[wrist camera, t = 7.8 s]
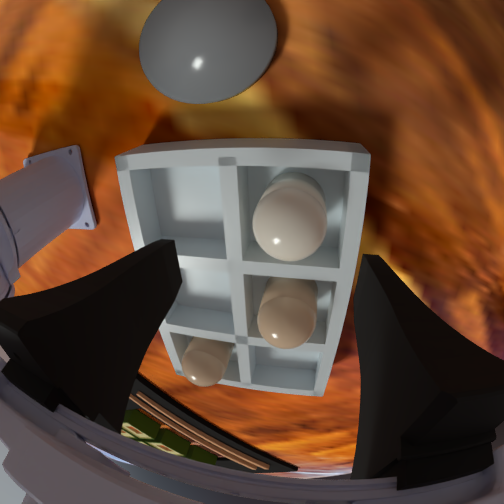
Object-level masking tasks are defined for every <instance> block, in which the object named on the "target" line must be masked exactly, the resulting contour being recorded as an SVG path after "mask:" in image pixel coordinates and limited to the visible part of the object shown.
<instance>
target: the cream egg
mask: <svg viewBox="0 0 504 504" xmlns="http://www.w3.org/2000/svg"><path fill="white" fill-rule="evenodd" d="M252 227H253V232H254V236H255V239H256V241H257V242H258V244H259V245H260V247H261V248H262V249H263V250H264V251H265V252H266V253H267V254H268V255H270V256H272V257H274V258H276V259H279V260H282V261H298V260H302V259H304V258H306V257H308V256H310V255H312V254H313V253H314V252H315V251H316V250H317V249H318V248H319V247H320V246H321V244H322V243H323V240H324V238H325V236H326V232H327V210H326V199H325V194H324V192H323V189H322V188H321V186H320V185H319V184H318V182H317V181H316V180H314V179H313V178H312V177H310V176H308V175H306V174H303V173H299V172H288V173H284V174H281V175H279V176H277V177H275V178H274V179H273V180H272V181H271V182H270V183H269V184H268V186H267V187H266V189H265V191H264V193H263V195H262V197H261V199H260V201H259V203H258V204H257V206H256V209H255V211H254V214H253V222H252Z"/></svg>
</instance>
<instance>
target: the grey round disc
mask: <svg viewBox="0 0 504 504" xmlns="http://www.w3.org/2000/svg"><path fill="white" fill-rule="evenodd" d="M277 43H278V30H277V24H276V21H275V17H274V15H273V13H272V11H271V9H270V8H269V6H268V4H267V3H266V2H265V0H162V1H161V2H160V3H159V4H158V5H157V6H156V7H155V8H154V10H153V11H152V12H151V14H150V15H149V17H148V19H147V20H146V22H145V25H144V27H143V30H142V33H141V36H140V43H139V56H140V62H141V66H142V68H143V71H144V73H145V75H146V77H147V78H148V80H149V81H150V83H151V84H152V85H153V86H154V87H155V88H156V89H157V90H158V91H160V92H161V93H162V94H164V95H166V96H167V97H169V98H171V99H174V100H177V101H180V102H185V103H192V104H205V103H213V102H219V101H223V100H227V99H229V98H232V97H234V96H237V95H239V94H240V93H242V92H244V91H246V90H247V89H248V88H250V87H251V86H252V85H254V84H255V83H256V82H257V81H258V80H259V79H260V78H261V77H262V76H263V74H264V73H265V72H266V70H267V69H268V67H269V66H270V64H271V62H272V60H273V58H274V55H275V52H276V49H277Z"/></svg>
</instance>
